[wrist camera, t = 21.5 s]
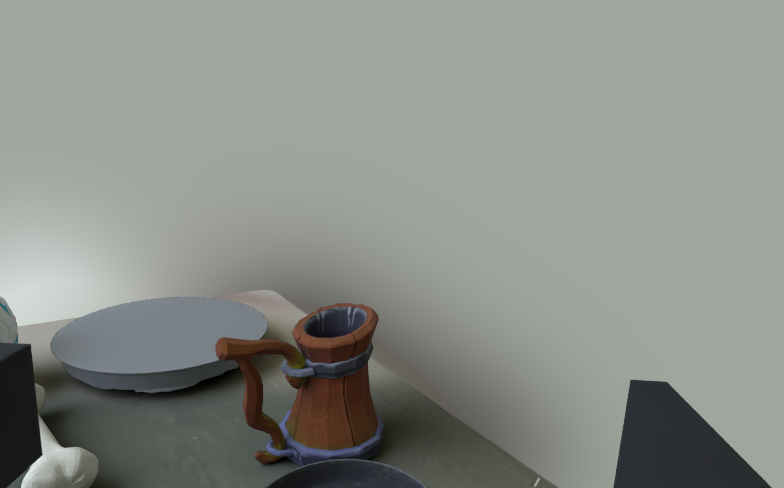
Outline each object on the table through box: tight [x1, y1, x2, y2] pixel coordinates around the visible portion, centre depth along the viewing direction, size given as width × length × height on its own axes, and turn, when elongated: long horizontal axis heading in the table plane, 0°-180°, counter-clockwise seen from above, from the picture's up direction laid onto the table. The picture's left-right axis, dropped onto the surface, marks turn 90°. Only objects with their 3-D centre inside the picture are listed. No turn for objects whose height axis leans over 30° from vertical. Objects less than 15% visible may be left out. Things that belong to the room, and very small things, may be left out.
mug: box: [215, 303, 384, 466], centre depth 55 cm, size 18×12×15 cm, turn 125°
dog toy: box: [21, 383, 99, 488], centre depth 53 cm, size 20×6×5 cm, turn 46°
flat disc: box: [50, 297, 268, 393], centre depth 76 cm, size 28×28×4 cm
